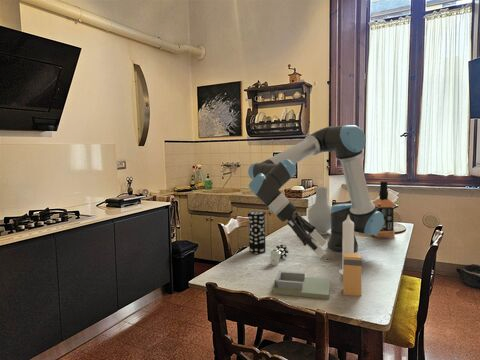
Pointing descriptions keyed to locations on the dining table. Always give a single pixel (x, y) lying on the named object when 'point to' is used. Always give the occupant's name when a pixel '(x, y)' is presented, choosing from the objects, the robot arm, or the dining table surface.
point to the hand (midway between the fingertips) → (323, 249)
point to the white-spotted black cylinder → (257, 232)
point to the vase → (320, 212)
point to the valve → (277, 254)
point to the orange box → (352, 273)
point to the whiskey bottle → (385, 212)
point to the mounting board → (301, 285)
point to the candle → (347, 239)
